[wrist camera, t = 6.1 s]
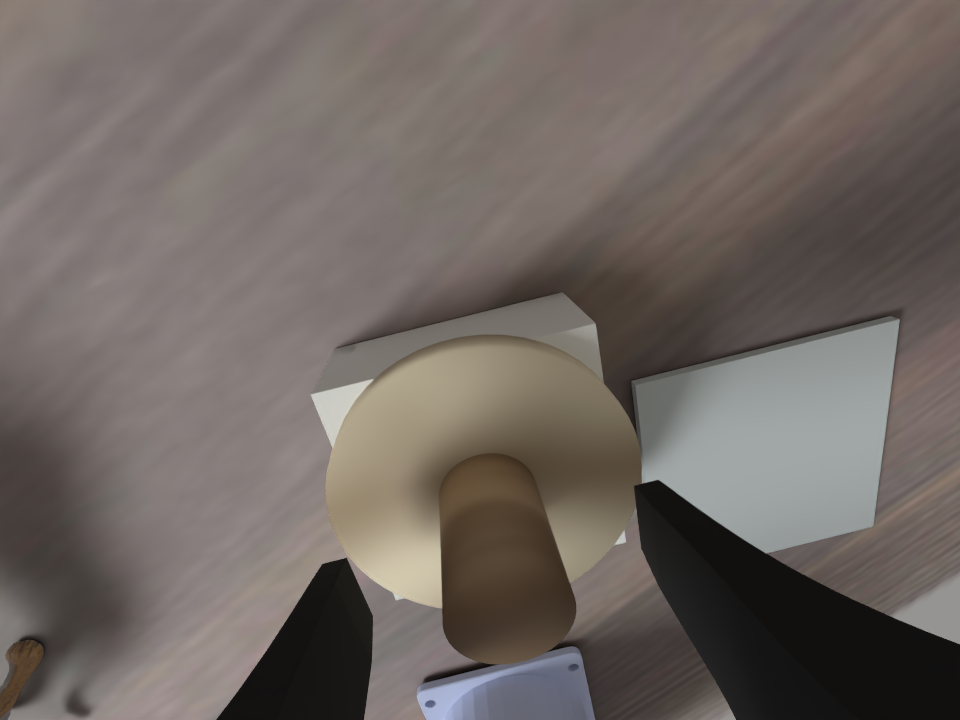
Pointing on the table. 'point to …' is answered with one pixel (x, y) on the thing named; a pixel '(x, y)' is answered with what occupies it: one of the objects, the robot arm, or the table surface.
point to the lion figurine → (18, 672)
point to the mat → (775, 434)
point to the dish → (530, 319)
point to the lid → (485, 487)
